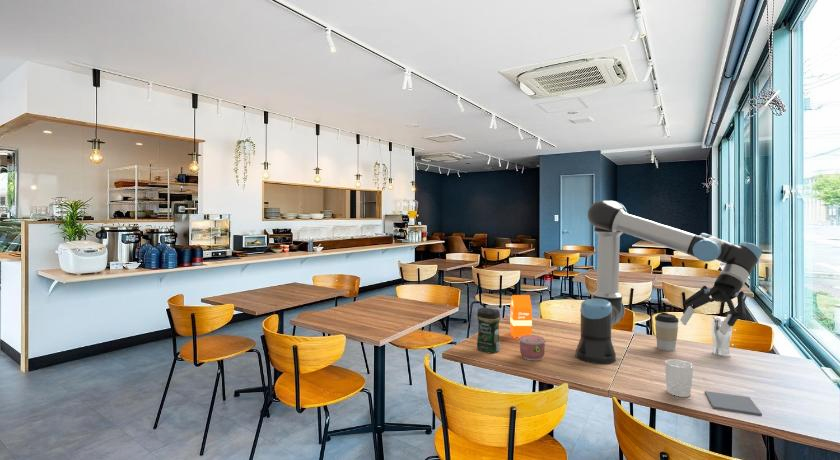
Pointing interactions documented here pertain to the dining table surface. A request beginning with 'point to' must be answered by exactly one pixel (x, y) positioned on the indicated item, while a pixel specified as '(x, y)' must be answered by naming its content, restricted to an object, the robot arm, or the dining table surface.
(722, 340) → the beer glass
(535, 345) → the container
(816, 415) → the dining table surface
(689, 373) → the white cup
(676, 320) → the coffee cup
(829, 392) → the dining table surface
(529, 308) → the orange juice
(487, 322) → the coffee jar
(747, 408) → the rubber mat
